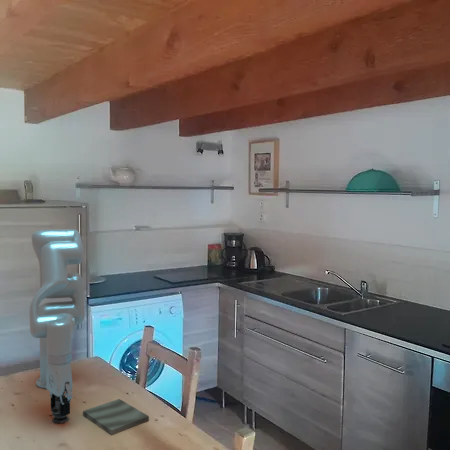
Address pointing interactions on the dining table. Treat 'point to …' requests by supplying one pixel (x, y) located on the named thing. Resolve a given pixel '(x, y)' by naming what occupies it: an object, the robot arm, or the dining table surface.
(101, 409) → the serving board
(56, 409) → the dark grey chess piece
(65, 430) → the dining table surface
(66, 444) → the dining table surface
